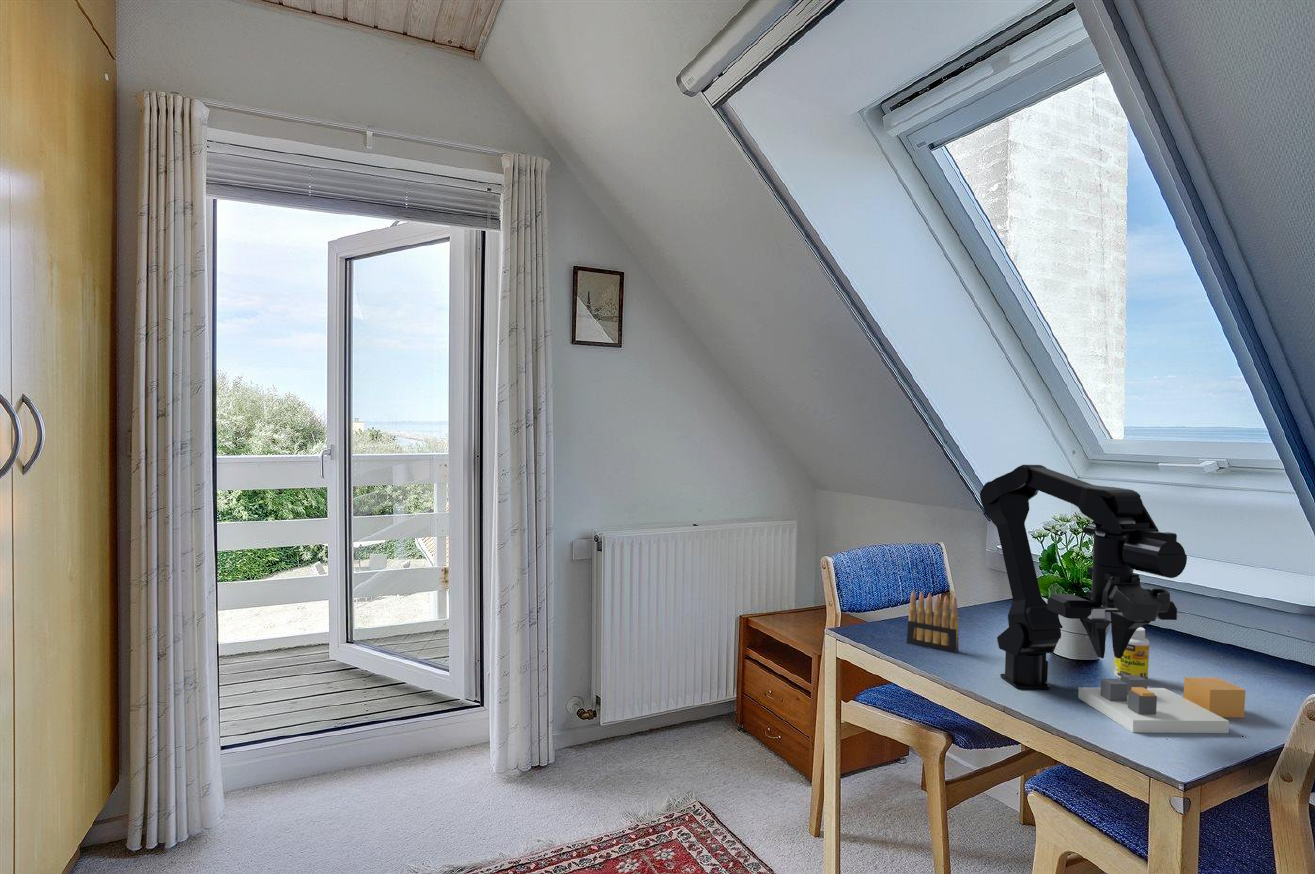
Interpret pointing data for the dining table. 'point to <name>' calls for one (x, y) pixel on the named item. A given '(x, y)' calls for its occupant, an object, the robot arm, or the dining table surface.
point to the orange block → (1215, 696)
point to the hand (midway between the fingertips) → (1109, 657)
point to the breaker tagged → (1142, 700)
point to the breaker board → (1170, 709)
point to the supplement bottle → (1134, 657)
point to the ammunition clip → (933, 624)
